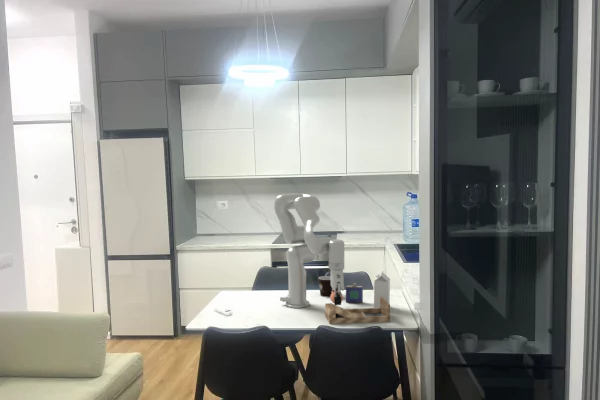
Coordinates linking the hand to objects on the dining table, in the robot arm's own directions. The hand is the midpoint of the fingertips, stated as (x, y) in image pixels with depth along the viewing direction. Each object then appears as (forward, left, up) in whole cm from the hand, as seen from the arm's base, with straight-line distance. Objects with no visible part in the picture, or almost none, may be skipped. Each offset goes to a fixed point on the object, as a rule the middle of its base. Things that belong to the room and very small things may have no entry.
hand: (336, 302), depth 199 cm
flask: (+14, +24, -8) cm, 29 cm away
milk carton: (+26, +13, -8) cm, 31 cm away
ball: (0, 0, -1) cm, 1 cm away
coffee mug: (+1, +38, -8) cm, 39 cm away
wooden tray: (+10, 0, -8) cm, 13 cm away
